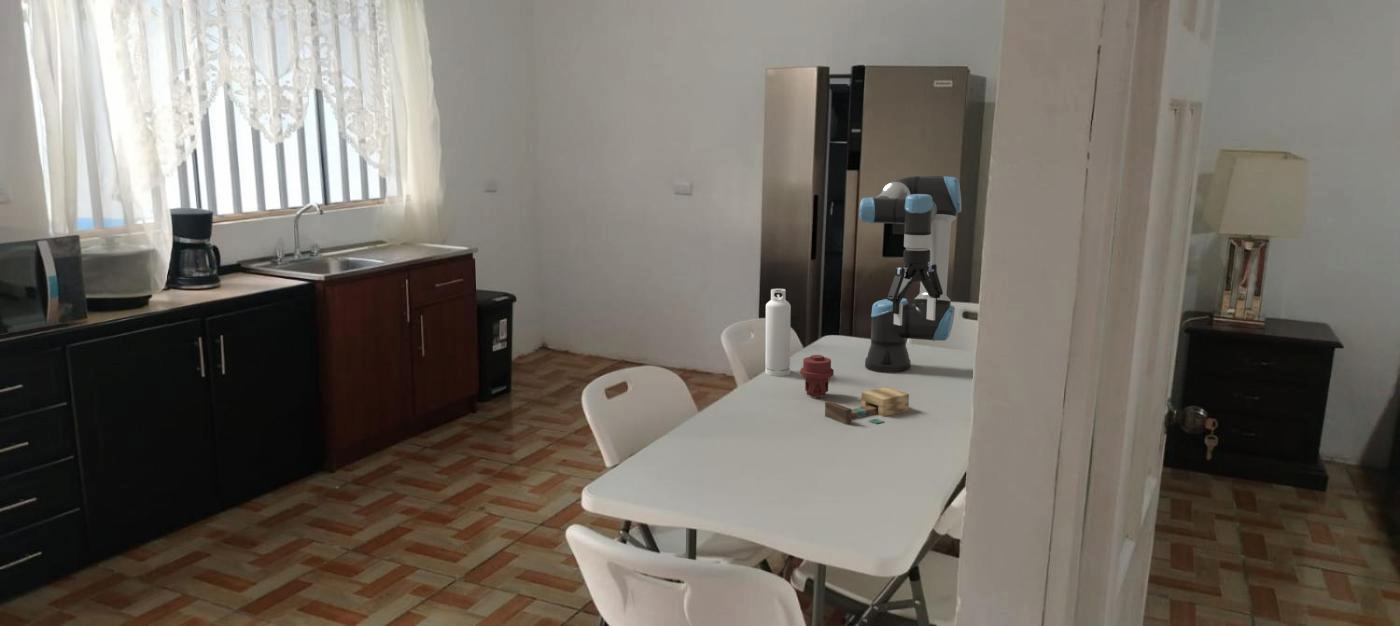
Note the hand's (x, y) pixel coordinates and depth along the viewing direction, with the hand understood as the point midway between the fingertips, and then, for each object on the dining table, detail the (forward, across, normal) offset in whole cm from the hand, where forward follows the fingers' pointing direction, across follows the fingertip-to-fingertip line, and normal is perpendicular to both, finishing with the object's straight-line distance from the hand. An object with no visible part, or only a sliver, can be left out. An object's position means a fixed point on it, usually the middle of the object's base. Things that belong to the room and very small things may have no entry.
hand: (914, 322), depth 282 cm
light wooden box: (+25, +11, 0) cm, 27 cm away
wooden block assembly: (+24, +17, 0) cm, 30 cm away
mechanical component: (+25, +18, -22) cm, 38 cm away
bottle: (+25, +13, -50) cm, 57 cm away
